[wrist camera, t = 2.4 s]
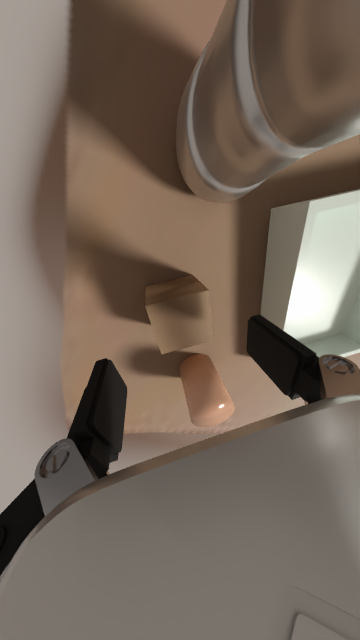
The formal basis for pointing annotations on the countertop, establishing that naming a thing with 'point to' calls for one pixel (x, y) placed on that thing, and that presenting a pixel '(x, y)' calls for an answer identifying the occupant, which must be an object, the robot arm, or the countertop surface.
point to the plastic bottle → (268, 93)
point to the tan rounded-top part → (204, 391)
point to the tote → (315, 273)
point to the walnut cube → (179, 313)
